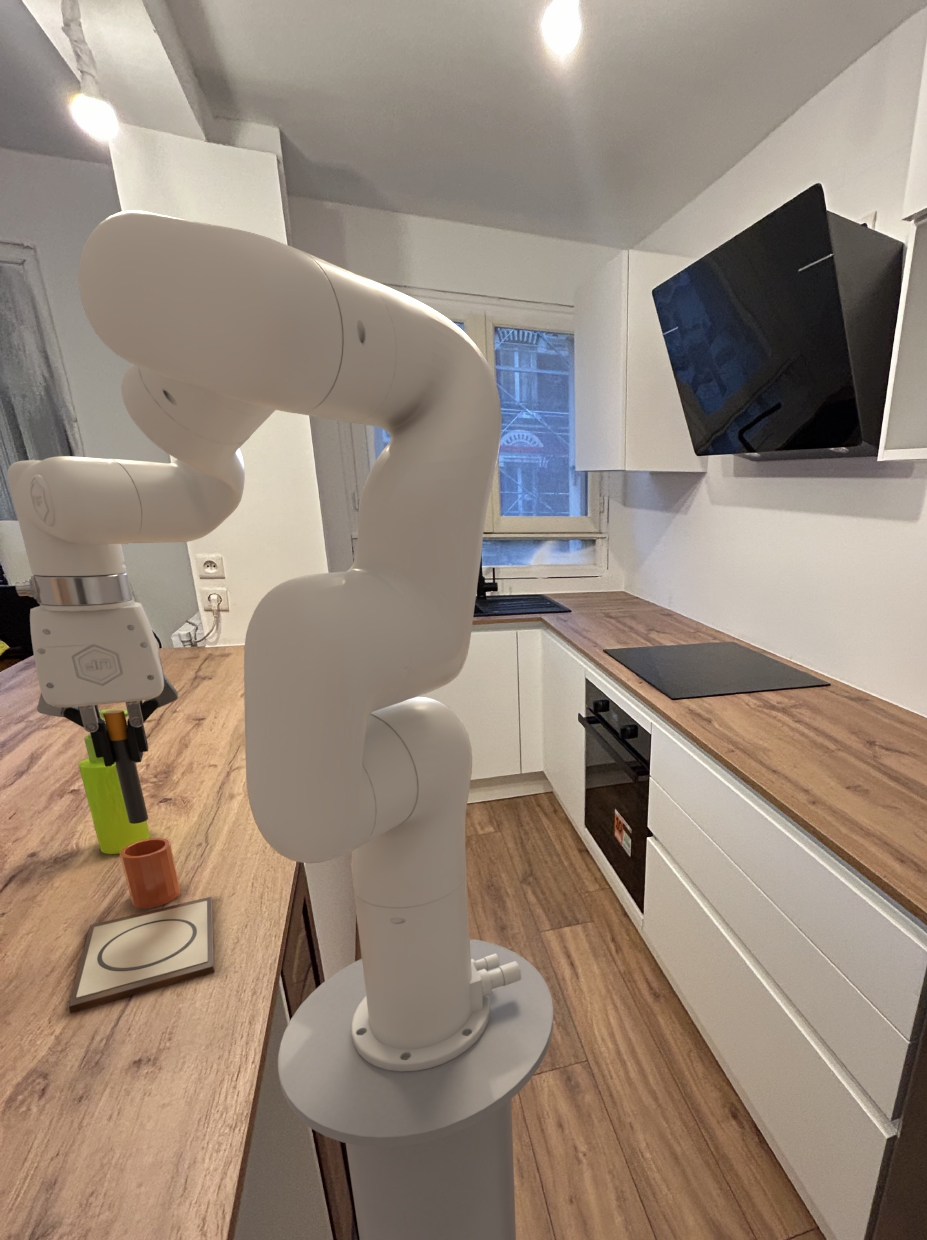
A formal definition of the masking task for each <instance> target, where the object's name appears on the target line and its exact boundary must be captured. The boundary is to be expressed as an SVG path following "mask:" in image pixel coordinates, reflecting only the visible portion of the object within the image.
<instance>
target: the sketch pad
mask: <svg viewBox="0 0 927 1240" xmlns="http://www.w3.org/2000/svg"><path fill="white" fill-rule="evenodd" d="M213 900H214V899H213V897H212V896H209V897H204V898H200V899H195V900H190V901H187V902H183V903H178V904H177V903H176V904H174V905H169V906H166V907H165V906H164V907H161V908H157V909H152V910H148V911H143V912H140V913H139V912H138V913H134V914H131V915H125V916H122V917H118V918H113V919H109V920H105V921H104V920H103V921H100V922H97V923H92V924H90V925H89V928H88V933H87V936H86V940H85V943H84V947H83V951H82V955H81V957H80V958H81V959H80V962H79V967H78V970H77V973H76V976H75V981H74V985H73V987H72V988H73V989H72V992H71V995H70V1000H69V1003H68V1010H69V1013H71V1014H72V1013H76V1012H79V1011H83V1010H85V1009H89V1008H93V1007H97V1006H100V1005H103V1004H104V1005H105V1004H107V1003H111V1002H114V1001H117V1000H121V999H125V998H128V997H132V996H135V995H139V994H142V993H146V992H149V991H153V990H156V989H160V988H163V987H167V986H170V985H174V984H178V983H180V982H181V983H182V982H185V981H187V980H188V981H189V980H192V979H195V978H199V977H203V976H205V975H209V974H213V973H215V971H216V970H215V938H214V937H215V935H214V932H215V931H214V901H213Z"/></svg>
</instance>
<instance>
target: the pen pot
mask: <svg viewBox="0 0 927 1240" xmlns="http://www.w3.org/2000/svg"><path fill="white" fill-rule="evenodd" d="M119 857H120V861H121V865H122V869H123V873H124V877H125V881H126V885H127V890H128V895H129V897H130V901H131V903H132V904H131V905H132V906H133V907H134V908H137V909H151V908H153V909H154V908H157V907H160V906H164V905H166V904H169V903H170V902H172V901H174V900H175V899H177V898H178V897H179V896H180V894H181V887H180V881H179V876H178V872H177V867H176V862H175V858H174V853H173V850H172V844H171V841H170V840H169V839H167V838H164V837H151V838H150V839H145V840H141V841H137V842H134V843H132V844H130V845H128V846H126V847H124V848H123V849H122V850H121V851H120V853H119Z"/></svg>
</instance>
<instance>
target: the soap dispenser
mask: <svg viewBox="0 0 927 1240" xmlns="http://www.w3.org/2000/svg"><path fill="white" fill-rule="evenodd" d="M99 710H100V714H101V718H102V720H104V721H105V719H104V715H103V713H104V712H107V711H111V710H123V711H124V713H125V718H127V717H128V712H127V709H121V708H107V709H99ZM83 740H84V744H85V747H86V752H87V756H88V757H87V758H84V759H82V760H80V762H78V768H79V772H80V776H81V780H82V784H83V788H84V791H85V795H86V800H87V803H88V806H89V807H88V808H89V811H90V814H91V819H92V823H93V826H94V830H95V833H96V837H97V841H98V846H99V849H100V852H102V853H103V854H108V855H115V854H116V855H117V854H119V855H120V851H121V850H122V849H123V848H124V847H126V846H128V845H130V844H132V843H134V842H137V841H141V840H145V839H150V838H152V837H151V833H150V828H149V825H148V820H146V821H144V822H141V823H136V824H132V823H129V819H128V815H127V811H126V807H125V803H124V799H123V794H122V790H121V786H120V782H119V778H118V773H117V769H116V765H115V762H114V764H113V765H112V766H107V767H106V766H105V763H104V759H103V757H101V758H97V757H96V754H95V750H94V746H93V742H92V738H91V734H90V733H89V734H88V735H86V736H84V739H83Z"/></svg>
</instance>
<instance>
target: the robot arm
mask: <svg viewBox="0 0 927 1240" xmlns="http://www.w3.org/2000/svg"><path fill="white" fill-rule="evenodd" d="M78 290H79V294H80V295H79V296H80V300H81V304H82V307H83V309H84V313H85V316H86V319H87V320H88V323H90V325H91V327H92V329H93V331H94V333H95V334H96V335H97V337H98V338H99V339H100V340H101V341H102V343H103V344H104V345H105V346H106V347H108V349H110V350H111V351H112V352H113V353H114V354H115V355H117V357H118V356H119V357H120V358H122V359H124V360H125V361H127V362H128V363H130V365H129V366H128V368H127V369H126V370H125V373H124V375H123V376H122V380H121V387H120V388H121V397H122V400H123V404H124V406H125V408H126V411H127V413H128V414H129V416H130V418H131V420H132V421H133V423H134V424H135V426H137V428H138V429H139V430H140V431H141V432H142V434H144V435H145V437H146V438H147V439H149V441H151V442H152V443H153V444H154V445H156V446H157V447H158V448H160V449H161V450H162V451H163V452H165V453H166V454H168V455H169V456H171V457H173V458H175V459H176V460H174V461H172V462H169V463H165V462H156V461H145V460H131V459H121V458H120V459H119V458H109V457H108V458H107V457H106V458H99V457H88V456H87V457H86V456H73V455H71V456H70V455H60V456H59V455H58V456H51V457H48V458H47V457H46V458H44V459H42V460H38V459H37V460H36V459H27V460H18V461H15V462H13V463H12V464H10V465H9V467H8V469H7V476H6V477H7V482H8V485H9V491H10V494H11V497H12V501H13V505H14V509H15V512H16V517H17V521H18V524H19V529H20V533H21V536H22V540H23V544H24V548H25V551H26V556H27V559H28V564H29V567H30V572H31V576H30V578H29V579H25V581H15V584H14V585H15V590H16V591H15V592H16V593H17V595H18V596H19V597H26V596H28V597H30V598H33V599H34V600H36V603H37V604H39V605H38V606H35V607H33V608H30V611H29V612H30V613H29V623H30V624H29V627H30V636H31V637H30V638H31V644H32V645H31V646H32V652H33V659H34V663H35V669H36V675H37V679H38V685H39V689H40V694H39V699H38V702H37V707H36V711H37V712H38V714H42V715H47V716H52V717H58V718H64V719H67V720H68V721H71V722H72V723H74V724H76V725H78V726H79V727H81V728H83V729H84V730H85V731H86V732H87V733H89V734H91V738H92V742H93V746H94V750H95V754H96V757H97V758H101V757H103V759H104V763H105V766H106V767H107V766H112V765H113V764H114V762H115V760H114V756H113V752H112V747H111V743H110V739H109V735H108V731H107V727H106V723H105V719H104V720H102V718H101V714H100V710H101V709H100V707H99V706H100V705H109V704H119V703H125V707H126V710H127V712H128V716H127V717H128V719H127V720H126V722H127V727H126V735H127V739H128V743H129V748H130V752H131V756H132V761H133V762H135V763H136V764H137V763H142V760H143V756H144V753H145V752H149V744H148V739H147V734H146V730H145V725H144V723H145V722H146V721H147V720H148V719H149V718H150V717H151V716H152V715H153V713H154V712H155V711H157V710H158V709H159V708H162V707H165V706H167V705H169V704H172V703H173V702H176V701H177V700H178V698H179V693H178V691H177V690H176V688H175V686H174V685H173V683H171V681H170V680H169V678H168V677H167V675H166V674H165V672H164V667H163V664H162V659H161V656H160V652H159V648H158V645H157V641H156V637H155V634H154V631H153V628H152V626H151V623H150V621H149V617H148V616H147V613H146V611H145V609H144V606H143V605H142V603H141V602H137V601H134V598H133V593H132V588H131V583H130V578H129V574H128V570H127V565H126V560H125V554H124V551H123V547H122V545H128V544H159V543H160V544H161V543H163V544H165V543H169V544H171V543H188V542H192V541H196V540H199V539H202V538H204V537H205V536H208V535H209V534H211V533H212V532H214V530H216V529H217V528H218V527H219V526H221V524H223V523H224V522H225V521H226V519H228V518H229V517H230V516H231V515H232V514H233V513H234V512H235V511H236V509H237V508H238V507H239V505H240V503H241V502H242V498H243V494H244V489H245V480H246V470H245V462H244V458H243V457H244V456H243V454H242V450H241V447H242V446H243V445H244V444H245V443H246V442H247V441H248V440H249V439H250V438H251V436H252V435H253V434H254V433H255V432H256V431H257V430H258V429H259V428H260V427H262V425H263V424H264V423H265V422H266V421H267V420H268V419H269V418H270V417H271V416H272V415H273V413H275V412H276V411H280V412H284V413H289V414H298V415H304V416H308V417H309V416H310V417H315V418H322V419H326V420H333V421H338V422H343V423H351V424H357V425H358V424H359V425H363V426H364V425H365V426H371V427H376V428H380V429H382V430H384V431H385V432H387V434H388V435H389V437H390V440H389V441H388V442H387V444H386V446H385V447H384V448H383V449H382V451H381V452H380V454H379V455H378V456H377V458H376V460H375V461H374V463H373V464H372V467H371V469H370V471H369V473H368V475H367V477H366V480H365V482H364V485H363V488H362V491H361V494H360V499H359V503H358V511H357V512H358V513H357V514H358V515H357V517H358V518H357V538H356V548H355V554H354V559H353V563H352V565H351V566H350V568H349V569H347V570H346V571H345V570H344V571H336V572H335V571H334V572H325V573H323V572H322V573H314V574H307V575H306V574H305V575H302V576H297V577H294V578H290V579H288V580H285V581H282V582H281V583H279V584H278V585H276V586H274V587H273V588H271V589H270V590H269V591H268V592H267V593H266V594H265V595H264V596H263V597H262V598H261V600H260V601H259V602H258V604H257V605H256V607H255V609H254V610H253V613H252V615H251V617H250V620H249V623H248V626H247V630H246V632H245V639H244V651H243V652H244V653H243V689H244V690H243V693H244V694H243V697H244V743H245V745H244V746H245V747H244V748H245V749H244V750H245V751H244V753H245V755H244V756H245V780H246V781H245V782H246V791H247V792H246V793H247V797H248V803H249V807H250V811H251V813H252V817H253V820H254V822H255V825H256V827H257V829H258V831H259V833H260V834H261V836H262V837H263V839H264V840H265V841H266V843H267V844H268V845H269V847H271V848H272V849H273V850H274V851H275V852H276V853H277V854H279V855H281V856H282V857H284V858H286V859H287V860H290V861H293V862H296V863H301V864H319V863H325V862H328V861H332V860H335V859H337V858H340V857H343V856H344V855H347V854H349V853H350V852H351V862H350V863H351V865H350V866H351V867H350V868H351V869H350V870H351V881H352V889H353V897H354V906H355V915H356V924H357V931H358V939H359V940H358V941H359V949H360V954H361V955H360V957H361V958H362V966H363V974H364V982H365V991H366V996H365V997H364V999H363V1000H362V1001H361V1003H360V1004H359V1005H358V1007H357V1009H356V1011H355V1013H354V1015H353V1019H352V1024H351V1029H352V1038H353V1043H354V1046H355V1048H356V1050H357V1052H358V1053H359V1054H360V1055H361V1056H362V1057H363V1058H364V1059H365V1060H366V1061H367V1062H369V1063H371V1064H372V1065H374V1066H376V1067H380V1068H383V1069H386V1070H392V1071H400V1072H402V1071H418V1070H423V1069H428V1068H432V1067H435V1066H438V1065H441V1064H444V1063H446V1062H448V1061H450V1060H452V1059H454V1058H456V1057H457V1056H459V1055H460V1054H462V1053H463V1052H465V1051H466V1050H467V1049H468V1048H470V1047H471V1046H472V1045H473V1044H474V1043H475V1042H476V1041H477V1040H478V1038H479V1037H480V1036H481V1034H482V1033H483V1032H484V1030H485V1027H486V1025H487V1023H488V1020H489V1015H490V1000H489V995H490V994H491V993H492V989H494V988H497V987H500V986H506V985H509V984H511V983H514V982H517V981H520V980H521V971H520V968H519V965H518V963H517V962H516V961H514V962H511V963H508V964H505V965H502V966H499V959H498V956H497V954H496V953H495V954H492V955H490V956H487V957H484V958H483V959H480V960H477V961H474V959H471V952H470V939H471V937H470V936H471V935H470V933H471V932H470V918H469V915H470V914H469V900H468V899H469V897H468V896H469V895H468V881H467V879H468V877H467V873H468V871H467V853H466V851H467V850H466V849H467V848H466V821H467V811H468V810H467V809H468V801H469V794H470V788H471V782H472V773H473V749H472V743H471V739H470V735H469V733H468V731H467V728H466V726H465V724H464V723H463V720H462V719H461V718H460V716H459V715H458V714H457V713H456V712H455V711H454V710H453V709H451V708H450V707H449V706H447V705H446V704H445V703H443V702H442V701H439V700H437V699H434V698H430V697H426V696H423V695H426V694H428V693H431V692H435V691H436V690H439V689H441V688H443V687H445V686H446V685H448V684H450V683H451V682H452V681H454V680H455V679H457V677H458V676H459V675H460V673H461V672H462V671H463V668H464V666H465V664H466V661H467V657H468V653H469V649H470V643H471V637H472V629H473V622H474V613H475V606H476V599H477V591H478V583H479V578H480V577H479V576H480V568H481V560H482V554H483V553H482V552H483V539H484V530H485V526H486V525H485V523H486V517H487V511H488V506H489V501H490V496H491V491H492V486H493V481H494V477H495V474H496V473H495V472H496V468H497V463H498V459H499V453H500V452H499V451H500V446H501V439H502V438H501V437H502V424H503V423H502V419H503V418H502V406H501V398H500V393H499V388H498V385H497V381H496V379H495V376H494V374H493V371H492V369H491V367H490V364H489V363H488V361H487V359H486V357H485V355H484V354H483V353H482V351H481V349H480V348H479V347H478V346H477V344H476V342H474V340H472V339H471V337H470V336H469V335H468V334H467V333H466V332H465V331H464V330H463V329H461V327H459V326H458V325H457V324H456V323H454V321H452V320H451V319H449V318H448V317H446V316H445V315H443V314H441V313H440V312H439V311H438V310H436V309H434V308H432V307H431V306H429V305H427V304H426V303H423V302H421V301H419V300H417V299H416V298H413V297H411V296H410V295H407V294H405V293H403V292H401V291H398V290H396V289H394V288H393V287H392V288H391V287H390V286H387V285H384V284H383V283H381V282H377V281H376V280H373V279H371V278H368V277H365V276H363V275H360V274H357V273H355V272H352V271H350V270H347V269H345V268H342V267H340V266H338V265H336V264H334V263H331V262H329V261H327V260H325V259H322V258H320V257H317V256H315V255H312V254H311V253H308V252H306V251H304V250H301V249H298V248H296V247H293V246H291V245H288V244H286V243H283V242H280V241H278V240H275V239H273V238H270V237H269V236H268V237H267V236H264V235H261V234H258V233H255V232H251V231H248V230H247V231H246V230H242V229H237V228H233V227H227V226H222V225H217V224H211V223H207V222H200V221H195V220H188V219H184V218H179V217H175V216H168V215H164V214H159V213H154V212H149V211H145V210H137V209H133V210H125V211H120V212H116V213H114V214H112V215H109V216H107V217H106V218H105V219H103V220H102V221H100V222H99V223H98V225H97V226H96V227H95V228H94V229H93V230H92V231H91V233H90V234H89V236H88V237H87V239H86V241H85V243H84V245H83V249H82V252H81V255H80V259H79V265H78ZM497 967H498V968H497ZM494 968H497V969H494ZM491 969H494V970H491ZM488 970H491V971H488ZM487 971H488V972H487Z"/></svg>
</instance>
